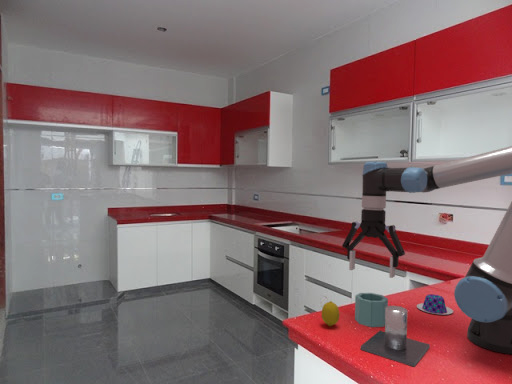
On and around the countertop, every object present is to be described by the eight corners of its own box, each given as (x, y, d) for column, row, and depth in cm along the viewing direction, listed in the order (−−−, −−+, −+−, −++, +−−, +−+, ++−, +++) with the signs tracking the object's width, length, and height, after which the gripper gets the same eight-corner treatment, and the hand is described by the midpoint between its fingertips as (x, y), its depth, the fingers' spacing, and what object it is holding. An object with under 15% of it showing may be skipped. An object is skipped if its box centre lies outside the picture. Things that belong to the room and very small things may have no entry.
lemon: (317, 326, 114) (318, 301, 114) (327, 321, 118) (328, 297, 117) (332, 331, 110) (333, 305, 110) (342, 326, 114) (343, 301, 113)
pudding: (429, 317, 124) (430, 302, 124) (409, 305, 136) (410, 291, 136) (461, 315, 126) (461, 301, 126) (438, 304, 138) (439, 291, 138)
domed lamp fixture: (429, 347, 100) (430, 308, 99) (414, 366, 89) (415, 322, 89) (379, 333, 109) (380, 297, 108) (360, 349, 98) (361, 309, 98)
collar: (390, 320, 119) (391, 297, 119) (379, 329, 112) (380, 304, 112) (363, 313, 125) (363, 291, 125) (351, 321, 118) (351, 297, 118)
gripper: (416, 211, 113) (414, 278, 113) (343, 206, 129) (341, 264, 129) (409, 212, 107) (406, 282, 108) (333, 207, 123) (331, 268, 124)
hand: (371, 273), depth 118 cm, fingers open, 13 cm apart
